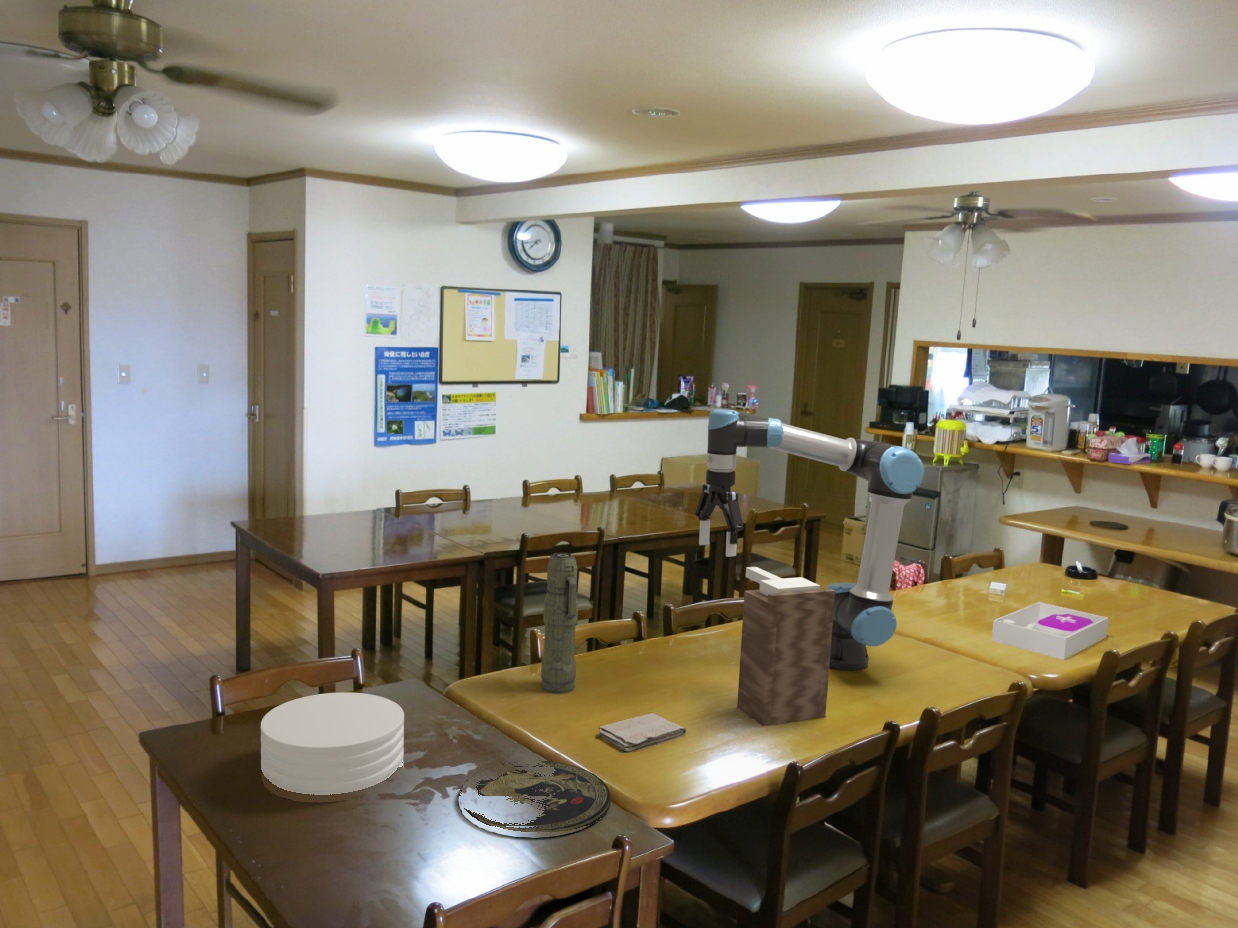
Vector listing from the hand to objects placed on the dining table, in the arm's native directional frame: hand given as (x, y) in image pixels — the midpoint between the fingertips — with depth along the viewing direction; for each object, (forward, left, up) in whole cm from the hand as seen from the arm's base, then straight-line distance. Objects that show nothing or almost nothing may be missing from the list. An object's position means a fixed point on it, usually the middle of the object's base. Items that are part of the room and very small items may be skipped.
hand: (717, 550), depth 254 cm
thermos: (+40, -9, -36) cm, 54 cm away
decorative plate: (+65, +46, -37) cm, 87 cm away
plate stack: (+100, +21, -37) cm, 108 cm away
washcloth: (+32, +25, -37) cm, 55 cm away
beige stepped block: (-7, +16, -6) cm, 19 cm away
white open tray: (-126, -3, -37) cm, 131 cm away
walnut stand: (-7, +23, -36) cm, 44 cm away
